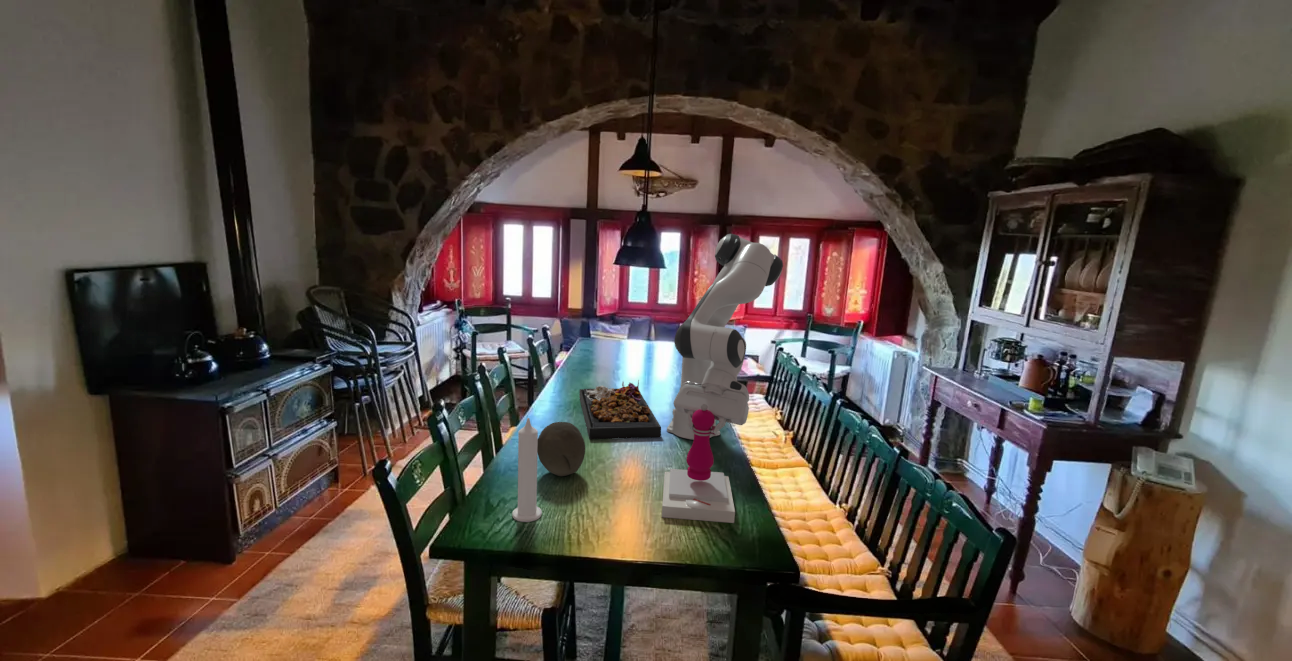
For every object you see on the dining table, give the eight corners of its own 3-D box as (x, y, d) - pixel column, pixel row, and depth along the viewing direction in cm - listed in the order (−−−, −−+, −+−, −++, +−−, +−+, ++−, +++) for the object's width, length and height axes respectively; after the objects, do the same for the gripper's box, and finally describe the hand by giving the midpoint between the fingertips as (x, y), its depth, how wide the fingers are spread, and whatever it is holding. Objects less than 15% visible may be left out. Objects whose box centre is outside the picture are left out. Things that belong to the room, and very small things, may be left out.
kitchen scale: (664, 481, 158) (665, 467, 158) (727, 486, 157) (728, 472, 157) (661, 517, 139) (662, 502, 138) (734, 523, 138) (735, 507, 137)
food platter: (579, 399, 230) (580, 375, 228) (637, 398, 235) (638, 375, 233) (589, 441, 187) (590, 411, 185) (660, 439, 191) (662, 410, 190)
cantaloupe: (592, 467, 165) (593, 419, 162) (573, 488, 152) (574, 436, 149) (548, 460, 169) (549, 412, 166) (526, 479, 155) (527, 428, 152)
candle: (512, 523, 132) (513, 423, 128) (511, 508, 139) (512, 413, 134) (542, 520, 134) (544, 422, 130) (540, 506, 141) (542, 412, 136)
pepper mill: (695, 467, 154) (700, 398, 150) (717, 475, 150) (723, 404, 146) (680, 475, 149) (685, 403, 145) (702, 484, 144) (708, 410, 140)
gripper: (680, 374, 155) (663, 417, 148) (751, 387, 146) (736, 433, 139) (686, 386, 160) (669, 428, 153) (755, 399, 151) (740, 445, 144)
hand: (701, 431), depth 146 cm, fingers closed on pepper mill, 5 cm apart
